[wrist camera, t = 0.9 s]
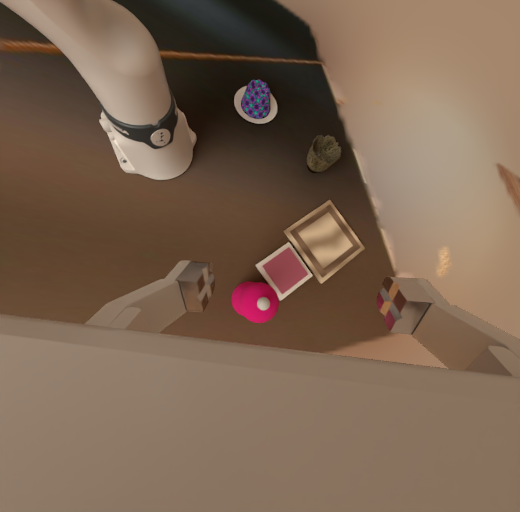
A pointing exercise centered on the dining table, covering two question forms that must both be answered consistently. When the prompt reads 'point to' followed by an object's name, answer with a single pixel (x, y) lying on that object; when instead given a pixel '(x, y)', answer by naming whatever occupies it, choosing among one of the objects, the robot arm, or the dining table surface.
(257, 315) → the pepper mill
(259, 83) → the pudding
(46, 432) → the robot arm
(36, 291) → the dining table surface
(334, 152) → the cup
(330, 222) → the board
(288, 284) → the ink pad
